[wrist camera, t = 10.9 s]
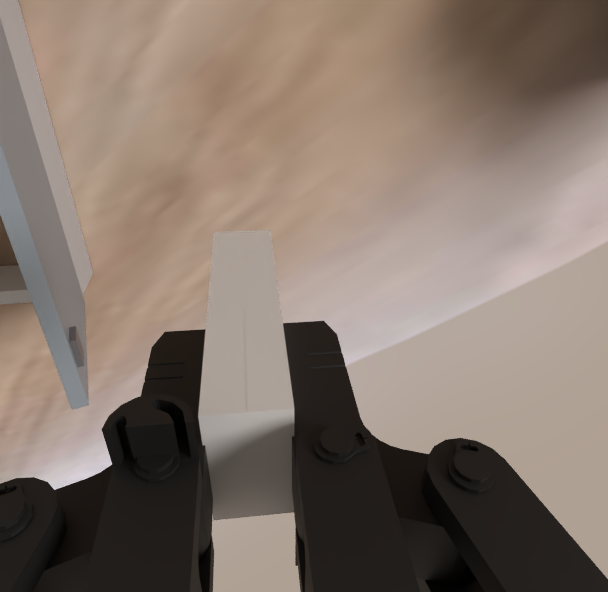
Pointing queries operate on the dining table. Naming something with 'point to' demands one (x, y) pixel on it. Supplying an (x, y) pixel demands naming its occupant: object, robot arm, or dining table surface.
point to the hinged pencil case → (8, 279)
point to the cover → (40, 236)
